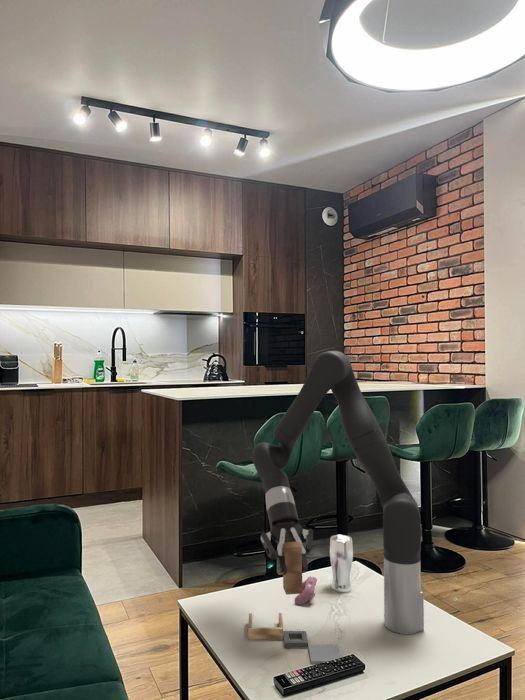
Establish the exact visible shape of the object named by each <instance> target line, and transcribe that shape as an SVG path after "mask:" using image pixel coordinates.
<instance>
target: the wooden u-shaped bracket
mask: <svg viewBox="0 0 525 700" xmlns="http://www.w3.org/2000/svg"><path fill="white" fill-rule="evenodd" d="M247 628H248V640H284V621H283V613H282V612H279V613H278V626H277V627H276V626H274V627H272V626H271V627H268V626H267V627H264V626H260V627H259V626H258V627H257V626H256V627H255V626H254V627H253V613H252V612H251V613H248V627H247Z"/></svg>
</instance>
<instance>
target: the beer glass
mask: <svg viewBox="0 0 525 700" xmlns="http://www.w3.org/2000/svg"><path fill="white" fill-rule="evenodd" d="M329 558H330V565H331V571H332V581H331V589H332V590H333V591H335V592H337V593H349V592H351V591H352V589H353V587H352V581H351V572H352V566H353V559H354V545H353V537H351V536H349V535H345V534H335V535H331V537H330V543H329Z"/></svg>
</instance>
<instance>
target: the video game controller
mask: <svg viewBox="0 0 525 700" xmlns="http://www.w3.org/2000/svg"><path fill="white" fill-rule="evenodd" d="M317 581H318V578H317V577H315V576H312V575H310V576H307V578H306V579H305V580H304V581H302V589H303V593H302V594H296V596H295V598H294V600H293V601H294V603H295V604H296V605H303V604H305V603H307V602H309V601H310V600H311V598H312V597H315V596H316V592H315V590H316V585H317Z"/></svg>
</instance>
